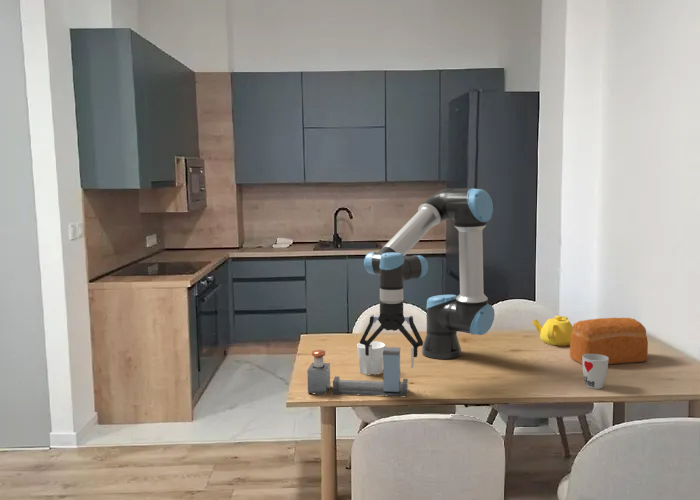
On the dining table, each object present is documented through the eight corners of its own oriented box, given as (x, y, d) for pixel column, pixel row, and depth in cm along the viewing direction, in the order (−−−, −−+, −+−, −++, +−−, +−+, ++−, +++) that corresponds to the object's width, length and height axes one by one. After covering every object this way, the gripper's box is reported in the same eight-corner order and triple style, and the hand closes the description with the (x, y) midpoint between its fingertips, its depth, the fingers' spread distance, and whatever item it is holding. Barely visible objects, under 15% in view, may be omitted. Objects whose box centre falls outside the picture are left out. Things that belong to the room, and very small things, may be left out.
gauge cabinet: (330, 386, 217) (329, 363, 216) (326, 394, 209) (325, 370, 208) (312, 385, 217) (312, 362, 216) (307, 393, 210) (307, 370, 209)
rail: (407, 389, 213) (407, 377, 212) (406, 397, 206) (406, 384, 205) (335, 387, 216) (335, 375, 215) (332, 394, 209) (332, 382, 209)
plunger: (326, 376, 214) (326, 350, 213) (324, 380, 210) (323, 353, 209) (313, 376, 215) (313, 349, 214) (311, 380, 211) (310, 353, 210)
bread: (651, 362, 239) (653, 321, 237) (585, 367, 234) (587, 324, 232) (628, 352, 252) (630, 312, 250) (566, 356, 247) (567, 316, 245)
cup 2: (577, 382, 217) (578, 354, 216) (600, 381, 218) (601, 353, 217) (588, 391, 209) (589, 361, 208) (612, 390, 210) (613, 360, 209)
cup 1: (357, 367, 237) (357, 341, 236) (384, 367, 236) (384, 341, 235) (356, 376, 227) (356, 348, 226) (385, 376, 227) (385, 348, 225)
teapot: (539, 333, 282) (540, 308, 281) (582, 339, 272) (583, 313, 270) (522, 343, 266) (523, 317, 265) (567, 350, 256) (568, 323, 254)
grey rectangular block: (400, 385, 212) (400, 347, 211) (399, 392, 206) (399, 352, 205) (384, 385, 213) (384, 347, 211) (383, 391, 207) (382, 352, 205)
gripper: (431, 299, 208) (430, 364, 210) (354, 298, 211) (354, 361, 214) (430, 304, 201) (430, 370, 203) (351, 302, 204) (351, 367, 207)
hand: (391, 366), depth 208 cm, fingers open, 13 cm apart
